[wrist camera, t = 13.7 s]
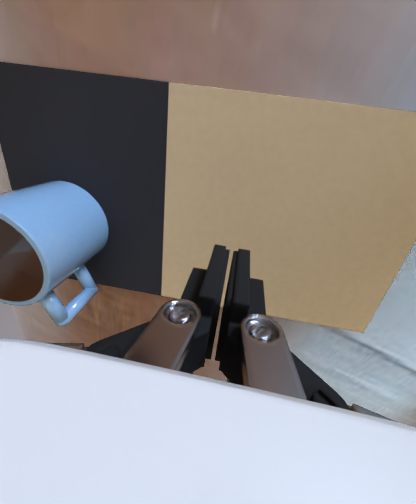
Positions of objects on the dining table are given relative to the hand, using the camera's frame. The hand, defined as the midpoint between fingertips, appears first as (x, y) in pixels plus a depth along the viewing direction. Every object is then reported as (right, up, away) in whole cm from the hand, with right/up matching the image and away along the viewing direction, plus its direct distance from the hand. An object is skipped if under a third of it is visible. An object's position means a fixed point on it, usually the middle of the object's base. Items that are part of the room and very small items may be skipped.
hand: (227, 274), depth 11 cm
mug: (-13, +3, +11) cm, 17 cm away
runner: (-2, +4, +9) cm, 10 cm away
